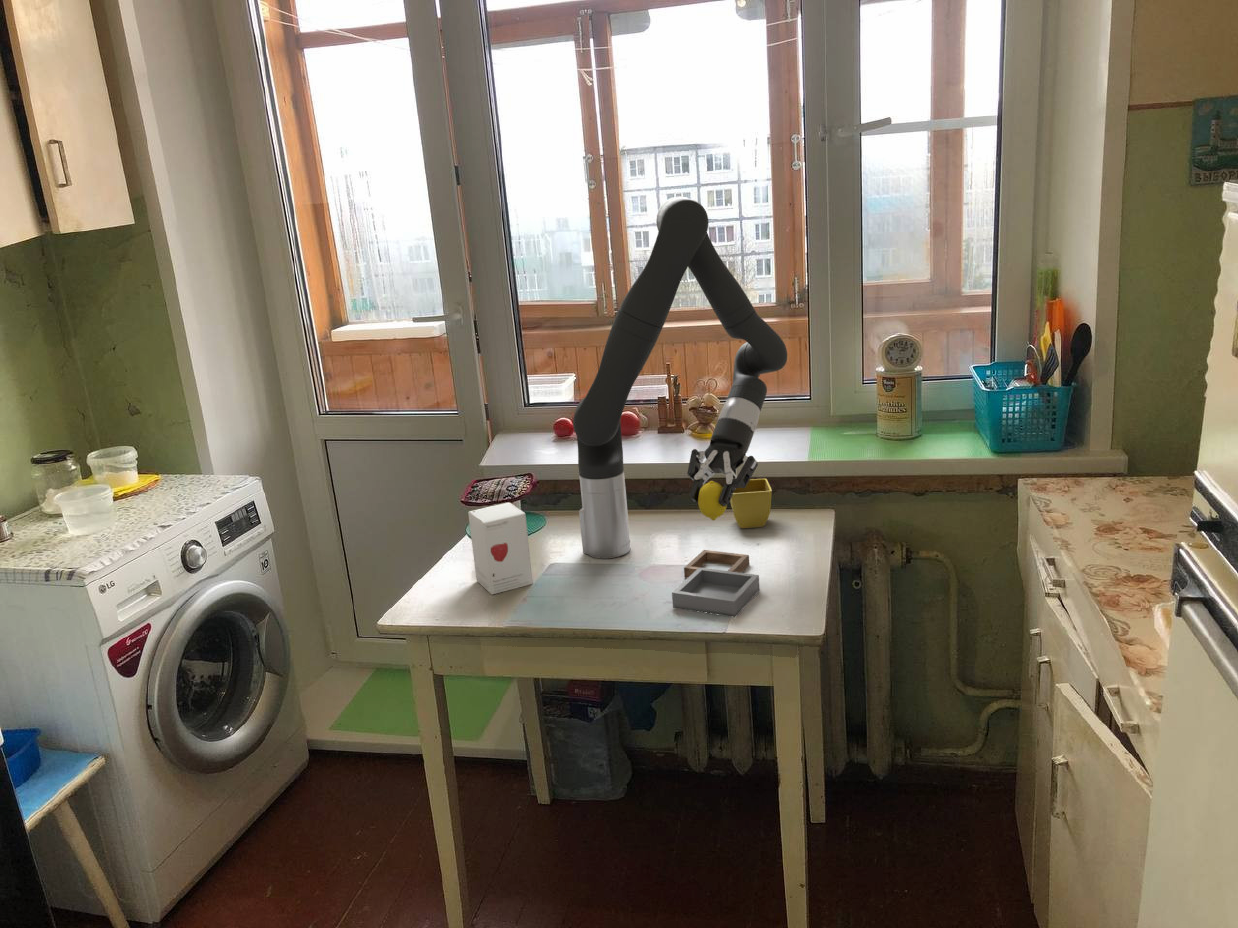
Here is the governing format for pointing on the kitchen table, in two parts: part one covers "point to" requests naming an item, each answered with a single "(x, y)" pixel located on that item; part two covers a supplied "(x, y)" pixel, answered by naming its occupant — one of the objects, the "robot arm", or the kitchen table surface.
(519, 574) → the supplement box
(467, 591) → the kitchen table surface
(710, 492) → the lemon
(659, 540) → the kitchen table surface
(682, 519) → the kitchen table surface
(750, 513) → the flower pot
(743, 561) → the wooden square frame
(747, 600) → the charcoal tray
